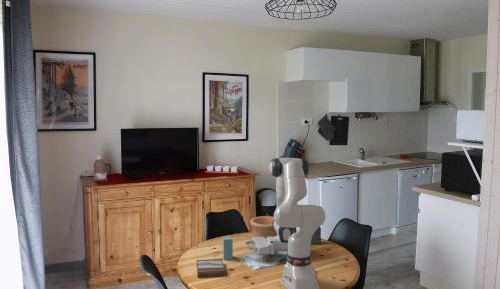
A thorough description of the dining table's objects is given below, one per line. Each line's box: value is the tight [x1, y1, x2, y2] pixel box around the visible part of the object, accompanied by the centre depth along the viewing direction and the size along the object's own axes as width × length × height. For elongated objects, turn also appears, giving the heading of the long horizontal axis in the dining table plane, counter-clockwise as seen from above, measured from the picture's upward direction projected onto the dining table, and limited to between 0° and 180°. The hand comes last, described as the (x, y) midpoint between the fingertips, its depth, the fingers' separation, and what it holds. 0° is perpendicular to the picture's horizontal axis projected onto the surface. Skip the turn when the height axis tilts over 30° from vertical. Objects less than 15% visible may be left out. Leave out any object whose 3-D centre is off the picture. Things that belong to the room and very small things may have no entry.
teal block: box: [222, 236, 234, 261], centre depth 233 cm, size 5×5×12 cm
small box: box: [311, 226, 322, 245], centre depth 261 cm, size 11×6×10 cm, turn 84°
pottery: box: [249, 215, 277, 239], centre depth 261 cm, size 22×22×14 cm
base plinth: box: [196, 258, 226, 278], centre depth 216 cm, size 16×14×3 cm
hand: (247, 245), depth 235 cm, fingers open, 8 cm apart
